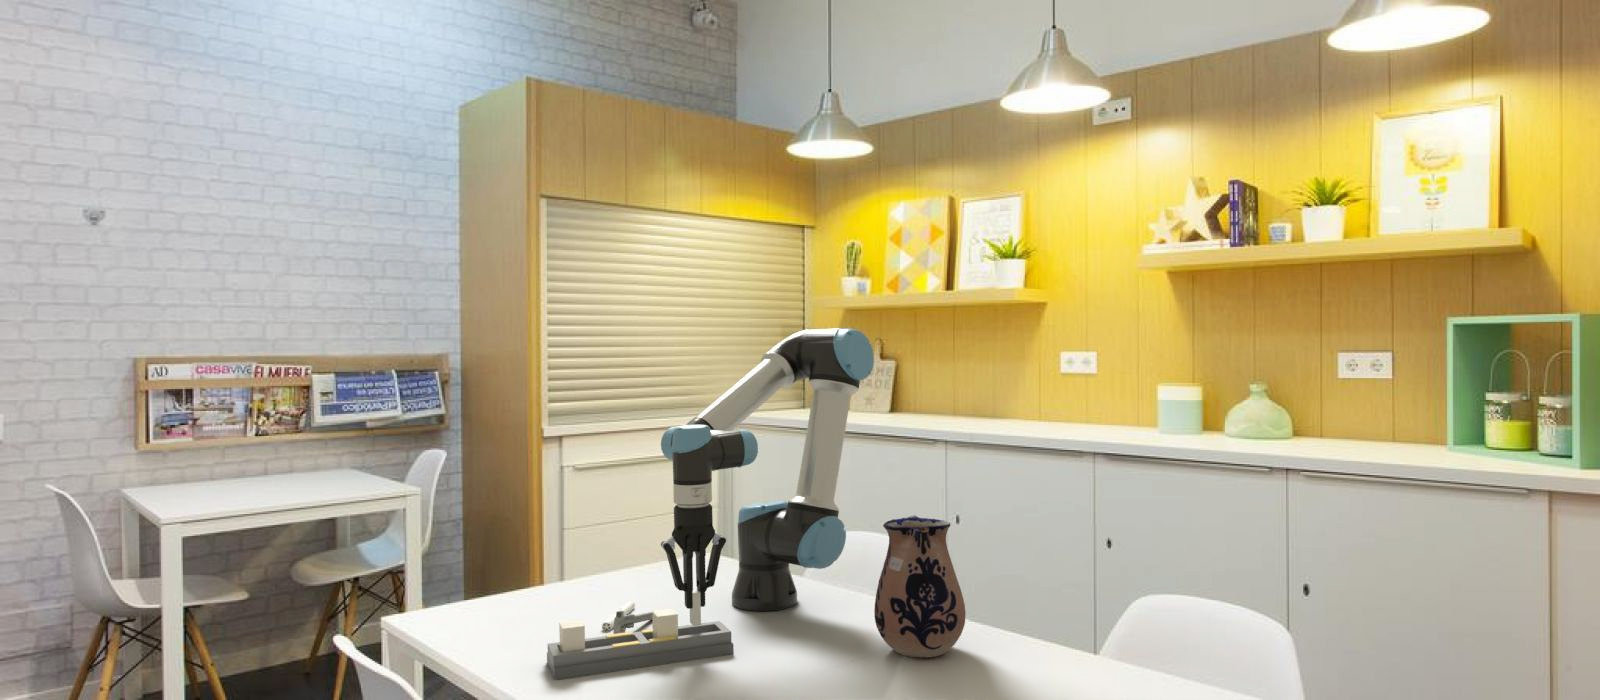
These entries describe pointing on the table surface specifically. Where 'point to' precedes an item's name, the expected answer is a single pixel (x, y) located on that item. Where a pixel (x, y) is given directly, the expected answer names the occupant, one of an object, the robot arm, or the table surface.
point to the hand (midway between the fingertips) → (695, 623)
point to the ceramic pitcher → (919, 590)
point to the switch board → (639, 650)
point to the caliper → (628, 620)
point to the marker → (610, 622)
